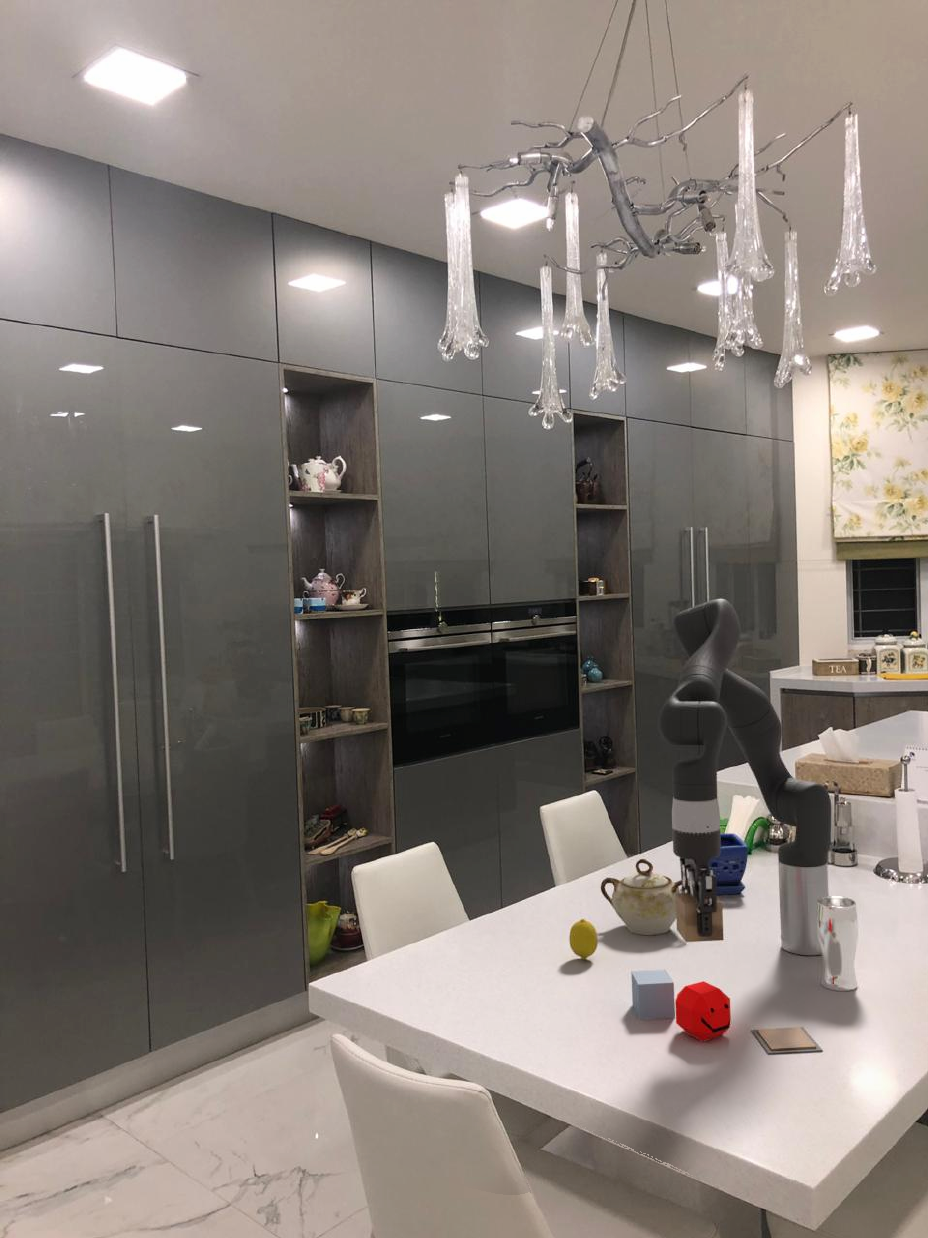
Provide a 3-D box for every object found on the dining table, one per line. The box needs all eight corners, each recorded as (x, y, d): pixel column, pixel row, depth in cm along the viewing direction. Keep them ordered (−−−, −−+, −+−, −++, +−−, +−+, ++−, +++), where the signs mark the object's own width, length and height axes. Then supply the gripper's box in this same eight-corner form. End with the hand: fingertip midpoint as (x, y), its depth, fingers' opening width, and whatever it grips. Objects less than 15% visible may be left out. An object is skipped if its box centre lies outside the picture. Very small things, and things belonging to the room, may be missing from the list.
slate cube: (666, 1003, 176) (665, 969, 176) (675, 1018, 170) (673, 982, 170) (632, 1005, 176) (631, 971, 176) (639, 1020, 170) (638, 984, 170)
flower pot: (751, 896, 235) (749, 845, 235) (694, 898, 235) (692, 847, 235) (737, 880, 248) (735, 832, 248) (683, 882, 249) (681, 834, 248)
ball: (701, 1049, 158) (699, 1001, 158) (668, 1031, 165) (666, 984, 165) (740, 1037, 162) (738, 990, 161) (706, 1020, 169) (704, 974, 168)
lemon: (597, 965, 196) (595, 924, 195) (568, 964, 197) (567, 923, 197) (599, 955, 201) (597, 915, 201) (571, 954, 202) (570, 914, 202)
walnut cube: (713, 928, 166) (711, 891, 166) (723, 940, 160) (722, 902, 160) (676, 929, 166) (675, 893, 166) (685, 942, 160) (684, 904, 160)
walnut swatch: (802, 1028, 164) (802, 1025, 164) (822, 1051, 156) (822, 1048, 156) (751, 1031, 164) (751, 1028, 164) (768, 1054, 155) (768, 1051, 155)
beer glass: (859, 979, 183) (856, 897, 183) (860, 994, 177) (858, 908, 176) (818, 976, 186) (815, 894, 185) (818, 990, 179) (815, 906, 179)
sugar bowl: (594, 937, 212) (591, 865, 211) (609, 915, 226) (607, 848, 225) (690, 944, 205) (687, 871, 205) (699, 921, 219) (697, 852, 219)
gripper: (732, 834, 156) (736, 943, 156) (707, 815, 170) (710, 914, 170) (683, 837, 155) (687, 945, 156) (662, 817, 170) (666, 916, 170)
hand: (699, 929), depth 163 cm, fingers closed on walnut cube, 6 cm apart
